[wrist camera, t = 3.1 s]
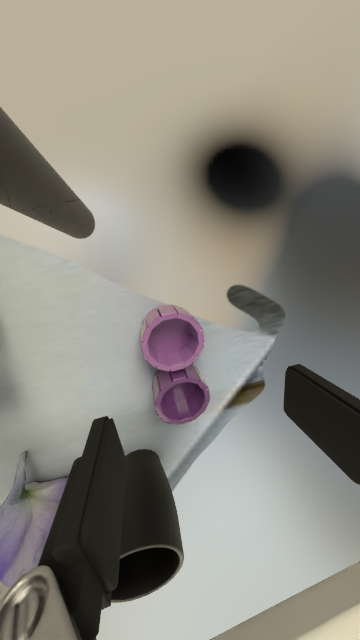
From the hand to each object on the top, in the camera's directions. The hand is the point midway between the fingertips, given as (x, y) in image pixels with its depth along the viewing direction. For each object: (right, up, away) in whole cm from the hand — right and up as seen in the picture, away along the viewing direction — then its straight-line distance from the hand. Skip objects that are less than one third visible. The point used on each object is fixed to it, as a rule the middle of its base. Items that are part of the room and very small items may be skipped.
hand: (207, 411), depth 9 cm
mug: (-9, -16, +16) cm, 24 cm away
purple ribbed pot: (-3, +4, +11) cm, 12 cm away
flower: (-19, -15, +13) cm, 27 cm away
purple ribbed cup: (-2, -3, +13) cm, 14 cm away
